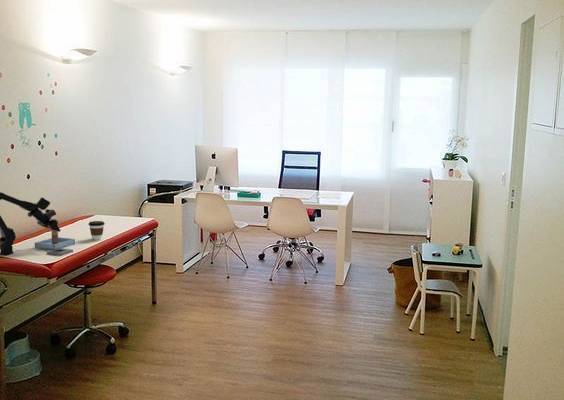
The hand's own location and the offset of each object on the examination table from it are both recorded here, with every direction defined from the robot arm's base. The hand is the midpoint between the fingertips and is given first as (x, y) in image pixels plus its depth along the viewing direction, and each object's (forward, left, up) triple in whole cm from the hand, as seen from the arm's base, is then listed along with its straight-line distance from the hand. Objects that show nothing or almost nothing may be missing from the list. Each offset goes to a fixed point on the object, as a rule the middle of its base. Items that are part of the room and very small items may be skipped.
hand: (56, 230), depth 365 cm
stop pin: (-1, +1, -10) cm, 10 cm away
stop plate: (-15, -15, -11) cm, 24 cm away
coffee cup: (+28, -10, -11) cm, 32 cm away
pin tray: (-1, +1, -11) cm, 11 cm away
